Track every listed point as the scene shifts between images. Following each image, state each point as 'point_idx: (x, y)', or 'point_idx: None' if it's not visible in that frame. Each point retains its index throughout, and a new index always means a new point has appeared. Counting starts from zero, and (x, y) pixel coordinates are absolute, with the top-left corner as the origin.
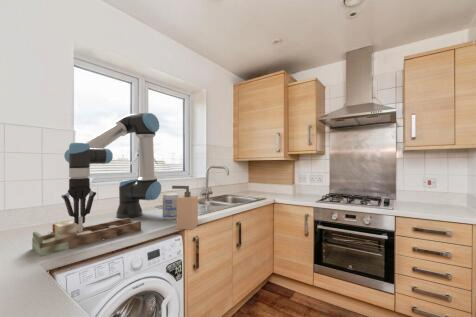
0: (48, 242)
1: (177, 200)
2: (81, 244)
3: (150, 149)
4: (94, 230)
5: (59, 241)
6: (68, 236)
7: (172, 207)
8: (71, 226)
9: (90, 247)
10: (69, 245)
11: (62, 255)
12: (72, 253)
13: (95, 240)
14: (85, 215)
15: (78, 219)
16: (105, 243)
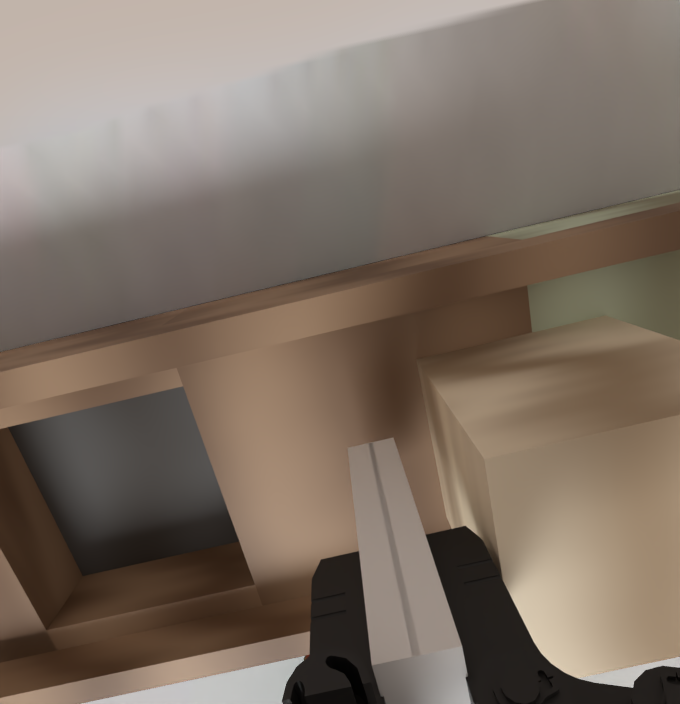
0: None
1: None
2: (365, 265)
3: None
4: (203, 582)
5: (650, 213)
6: (528, 349)
7: None
8: (564, 414)
9: (285, 122)
10: (494, 237)
11: (573, 39)
12: (479, 32)
13: (217, 303)
14: (300, 675)
15: (448, 613)
16: (116, 159)
